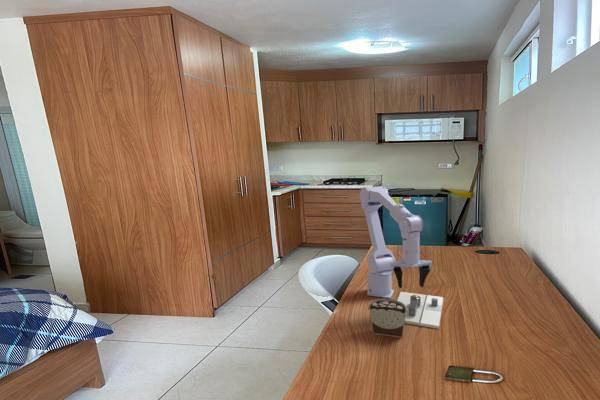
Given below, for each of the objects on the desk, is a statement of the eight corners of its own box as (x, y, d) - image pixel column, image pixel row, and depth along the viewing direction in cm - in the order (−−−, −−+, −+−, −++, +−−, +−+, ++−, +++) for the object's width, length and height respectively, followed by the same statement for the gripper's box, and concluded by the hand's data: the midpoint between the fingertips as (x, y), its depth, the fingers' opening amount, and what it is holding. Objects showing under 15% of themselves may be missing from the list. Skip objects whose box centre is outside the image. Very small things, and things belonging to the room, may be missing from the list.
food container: (408, 328, 119) (408, 300, 117) (407, 338, 113) (407, 308, 112) (370, 324, 123) (370, 296, 122) (368, 333, 117) (367, 304, 116)
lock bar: (411, 301, 136) (411, 293, 135) (421, 303, 134) (421, 294, 134) (406, 314, 126) (406, 305, 125) (417, 315, 125) (417, 306, 124)
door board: (389, 320, 125) (389, 311, 124) (400, 294, 146) (400, 286, 146) (438, 328, 118) (439, 319, 118) (443, 299, 140) (443, 291, 139)
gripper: (393, 254, 124) (393, 291, 126) (435, 252, 124) (435, 290, 126) (388, 248, 131) (388, 284, 133) (428, 246, 131) (427, 282, 133)
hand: (410, 286), depth 130 cm, fingers open, 7 cm apart
